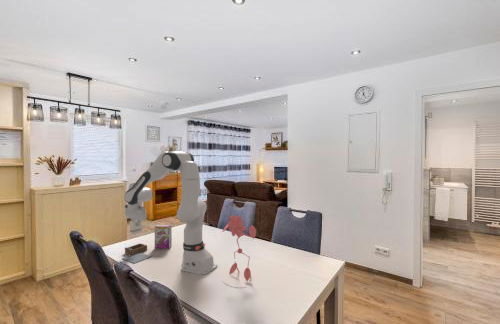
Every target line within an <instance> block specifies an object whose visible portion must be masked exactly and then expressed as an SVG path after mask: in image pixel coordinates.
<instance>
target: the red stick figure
mask: <svg viewBox="0 0 500 324" xmlns="http://www.w3.org/2000/svg"><path fill="white" fill-rule="evenodd" d="M227 229H228V230H229V231H231V232H230V233H231V235H232V237H235V236H237V237H236V243H237V246H238V249H237V250H236V251H234V252H233V253H234V255H233V256H234V258H236V253H238V254H240V255H241V254H243V255H245V256H246V257H248V263H247V267H246V268H245V269H244V271H243V278H244V279H245V281H246V282H248V281H249V280H250V278H252V276H251V275H252V274H251V269H250V268H249V264H250V258H251V257H250V256H249V255H247V254H245V253H243V248H240V245H239V239H240V238H241V237H243V236H247V237H249V238H252V239H253V240H254V239H256V236H257V228H256V227H255V226H254V225H253V224H251V225H250V226H249V229H248V233H249V235H248V234H245V231H246V226H244V221H243V220H242V217H241V215H238V216H236V215H235V214H232V215H230V216H229V220H228V221H227V224H226V225H225V227H223V229H222V233H223V232H225V231H226V230H227ZM236 270H237V272H238V273H240V270H239V268H238V263H237V262H234V263H233V264H232V265H231V267H230V268H229V273H228V274H229V275H231V274H234V272H235V271H236ZM225 286H227V287H231V288H232V287H233V286H232V285H229V284H227V283H225ZM235 288H236V289H242V288H243V289H244V288H246V286H244V287H236V286H235Z"/></svg>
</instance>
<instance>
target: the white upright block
mask: <svg viewBox="0 0 500 324" xmlns="http://www.w3.org/2000/svg"><path fill="white" fill-rule="evenodd" d="M137 222H138V221H137V220H136V219H135V220H134V221H131V220H130V221H129V234H130V235H131V236H134V235H138V234H140V233H143V221H141V222H140V226H137V225H136V223H137Z"/></svg>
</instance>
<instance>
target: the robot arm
mask: <svg viewBox="0 0 500 324" xmlns="http://www.w3.org/2000/svg"><path fill="white" fill-rule="evenodd" d="M171 170H173V171H179V173H180V178H181V179H180V181H181V182H180V184H181V197H180V204H179V207H178V209H177V212H176V217H177V219H178V220H179V222H182V223H184V224H185V226H184V228H183V243H182V248H183V252H182V253H183V254H182V262H181V267H180V270H181V271H182V272H187V273H192V274H198V275H205V274H208V273H210V272H213V271H214V270H215V269H217V268H218V263H217V262H215V261H214V257H213V255H212V254H211V252H209V250H208V249H206V244H207V243H204V241H203V226H204V220H205V215H206V214H205V213H206V211H207V210H208V208H207V207H208V206H207V205H208V204H207V203H206V202H205V201H204V200H201V199H199V196H200V193H201V180H200V179H201V178H200V177H201V176H200V171H199V167H198V163H196V162H195V157H194V156H193V154H192V153H191V152H188V151H187V152H186V151H179V150H177V151H175V150H174V151H166V150H165V151H163V152H161V153H160V154H159V155H158V156H157V157H156V159H155V160H154V161H153V163H152V165H151V166H150V167H149V168H148V169H147V170H146V171H145V172H143V173H142V174H141V175H140V177H139V178H138V179H137V180H136V181H135V182H133V183H130V184H129V185H128V189H127V190H126V192H125V194H124V201H125V202H126V203H127V204H124V208H125V209H124V215H125V218H127V219H130V221H134V220H137V221H138V222H137V223H136V225H137V226H140V222H141V221H142V222H143V221H146V220H147V219H148V218H147V211H146V209H145V207H144V206H143V203H145V202H149V201H151V200H152V199H153V197H154V193H153V190H152V189H151V187H150V188H149V187H147V186H148V185H149V184H151V183H153V182H156V181H158V180H162V179H164V178H165V177H166V176H167V175H168V174H169V172H170V171H171Z"/></svg>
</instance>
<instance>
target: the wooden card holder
mask: <svg viewBox="0 0 500 324" xmlns="http://www.w3.org/2000/svg"><path fill="white" fill-rule="evenodd" d="M146 251H148V245H147V244H144V243H136V244H134V245H131V246H127V247H124V254H126V255H127V256H129V255H134V254H137V253H139V252H140V253H143V252H146Z"/></svg>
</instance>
